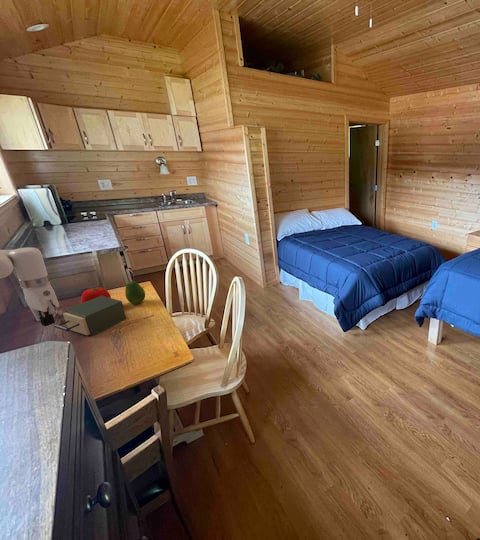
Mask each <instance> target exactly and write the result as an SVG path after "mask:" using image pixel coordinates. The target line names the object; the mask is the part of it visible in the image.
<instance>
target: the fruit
mask: <svg viewBox="0 0 480 540" xmlns="http://www.w3.org/2000/svg"><path fill="white" fill-rule="evenodd" d="M124 290H125V293H124V294H125V298H126V300H127V302H129V303H131V304H133V305H137V304H141V303H142V302H144V300H145V298H146V292H145V289H144V288H143V287H142V286H141V285H140V284H139V283H138V282H136V281H135V280H134V281H133V280H132V281H128V282H127V283H126V285H125V289H124Z"/></svg>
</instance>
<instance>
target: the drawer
mask: <svg viewBox="0 0 480 540" xmlns="http://www.w3.org/2000/svg"><path fill="white" fill-rule="evenodd" d="M62 316H63V319H64V321H63V322H61V323H59V324H58V323H56V324H55V323H54V326H53V328H56V329H58V330H62V331H64V332H70V331H72V332H75V333H79V334H82V335H85V336H90V335H89V334H90V332H89V329H88V326H87V322H86V319H85V318H83V317H80V316H78V315H74V314H70V313H67V312H65V311H64V312H63V313H62ZM64 325H66V326H64Z"/></svg>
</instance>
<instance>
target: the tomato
mask: <svg viewBox="0 0 480 540" xmlns="http://www.w3.org/2000/svg"><path fill="white" fill-rule="evenodd" d="M99 296H105V297H108V298H112V295H111V294H110V292H109V291H108V290H107V289H106V288H105V287H100V286H96V287H92V288H88V289H86V290H84V291H83V292H82V294H81V296H80V297H81V299H80V303H84V302H86V301H89V300H91V299H94V298H97V297H99Z"/></svg>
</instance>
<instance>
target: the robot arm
mask: <svg viewBox="0 0 480 540" xmlns="http://www.w3.org/2000/svg"><path fill="white" fill-rule="evenodd" d="M13 271H14V272H15V274H16V277H17V280H18V283H19V286H20V288H21V289H22V292H23V296H24V300H25V299H26V300H25V302H26V304H27V306H28V308H29V309H30V308H33V309H35V310H36V312H37V314H38V316H40V317H39V318H40V321H39V322H40V324H41V326H43V327H48V326H51V325H53V324H55V323H56V321H55V317H54V318H53V314H54V313H55V314H56V310H55V308H56V309H57V308H60V302H59V300H58V297H57V295H56V292H55V290H54V288H53V287H52V285H51V281H50V277H49V274H48V271H47V267H46V264H45V261H44V257H43V254H42V252H41V250H40V249H39V248H37V247H30V246H29V247H20V248H19V247H18V248H16V249H0V280H1V279H5V278H7V277H9V276H10V275H11V274H12V273H13ZM53 307H54V308H53Z"/></svg>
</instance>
